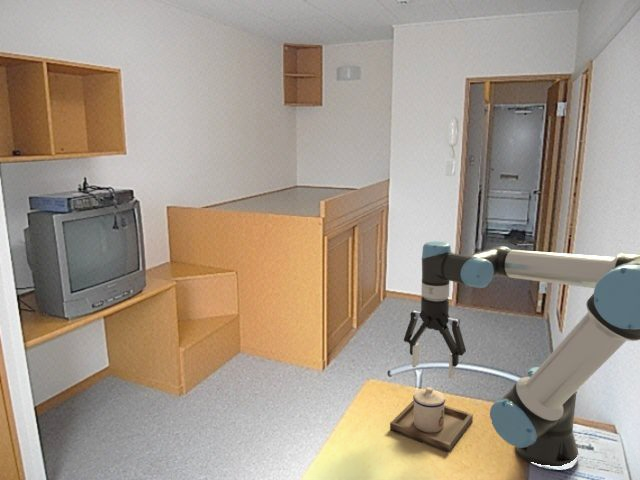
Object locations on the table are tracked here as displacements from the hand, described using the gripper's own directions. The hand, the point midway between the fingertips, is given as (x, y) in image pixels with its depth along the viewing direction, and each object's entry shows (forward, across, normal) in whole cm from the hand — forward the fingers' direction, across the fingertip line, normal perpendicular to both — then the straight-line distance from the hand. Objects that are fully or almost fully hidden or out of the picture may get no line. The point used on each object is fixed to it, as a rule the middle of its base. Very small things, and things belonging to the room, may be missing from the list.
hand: (433, 370), depth 138 cm
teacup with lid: (+17, -1, 0) cm, 17 cm away
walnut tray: (+18, 0, 0) cm, 18 cm away
